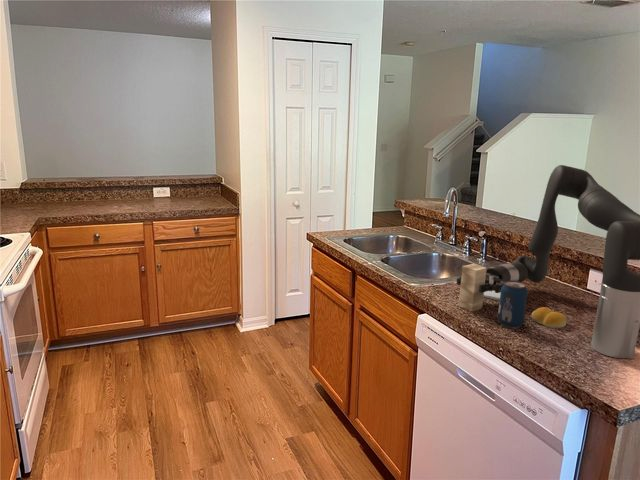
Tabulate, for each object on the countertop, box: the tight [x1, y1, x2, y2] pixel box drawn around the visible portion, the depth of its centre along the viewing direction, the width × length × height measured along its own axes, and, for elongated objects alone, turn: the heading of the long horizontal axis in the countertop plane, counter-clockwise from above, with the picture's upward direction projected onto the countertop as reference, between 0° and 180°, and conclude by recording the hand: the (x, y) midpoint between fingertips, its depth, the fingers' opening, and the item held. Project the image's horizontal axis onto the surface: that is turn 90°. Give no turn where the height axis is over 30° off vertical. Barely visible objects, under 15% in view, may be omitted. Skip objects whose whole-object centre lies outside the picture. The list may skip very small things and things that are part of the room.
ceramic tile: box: [483, 291, 501, 302], centre depth 160 cm, size 11×11×1 cm
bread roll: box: [531, 306, 568, 329], centre depth 137 cm, size 8×9×4 cm
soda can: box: [497, 281, 528, 329], centre depth 134 cm, size 7×7×12 cm
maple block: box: [458, 263, 488, 312], centre depth 145 cm, size 5×5×13 cm
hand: (468, 285), depth 144 cm, fingers open, 8 cm apart
